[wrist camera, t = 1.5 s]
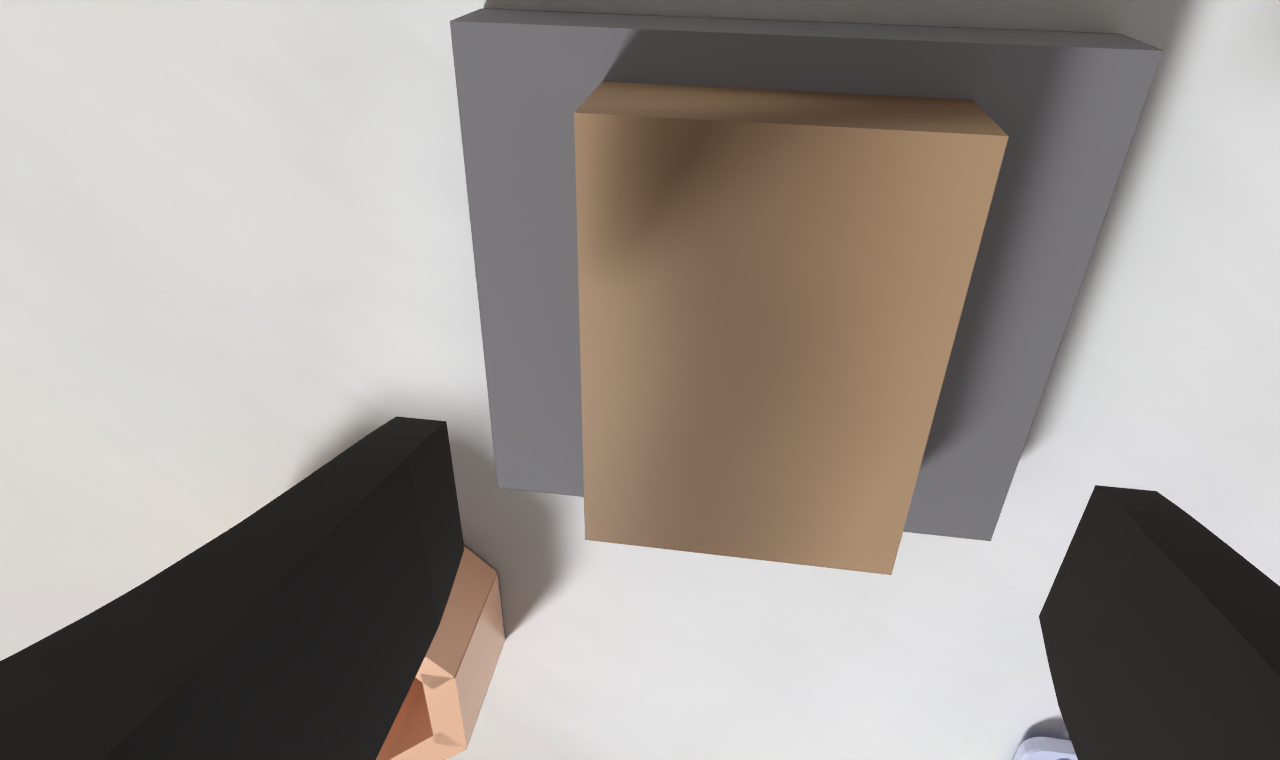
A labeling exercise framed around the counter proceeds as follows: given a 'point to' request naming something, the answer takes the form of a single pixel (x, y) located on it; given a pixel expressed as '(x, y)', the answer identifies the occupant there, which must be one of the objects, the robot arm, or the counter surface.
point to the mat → (813, 62)
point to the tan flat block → (769, 311)
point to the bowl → (452, 670)
